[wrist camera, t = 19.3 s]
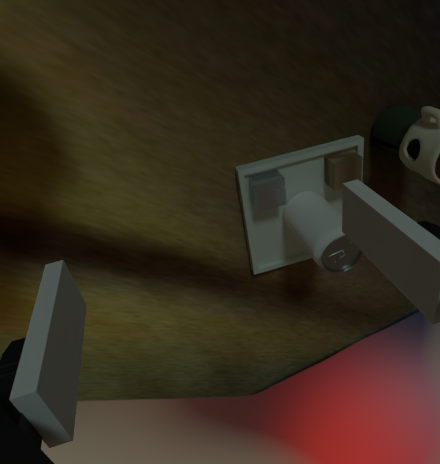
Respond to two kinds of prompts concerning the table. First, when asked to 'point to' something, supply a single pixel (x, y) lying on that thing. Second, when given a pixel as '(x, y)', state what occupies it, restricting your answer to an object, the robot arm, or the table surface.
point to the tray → (296, 181)
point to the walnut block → (342, 168)
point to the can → (321, 232)
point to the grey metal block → (268, 190)
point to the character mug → (412, 138)
